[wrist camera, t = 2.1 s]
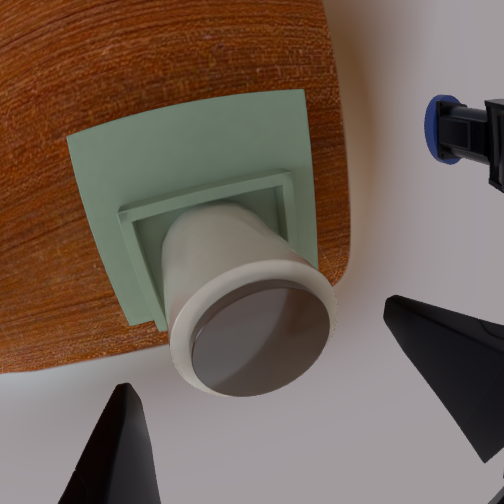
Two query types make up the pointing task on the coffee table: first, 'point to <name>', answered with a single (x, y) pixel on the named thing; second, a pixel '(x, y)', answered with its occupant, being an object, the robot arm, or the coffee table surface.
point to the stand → (192, 181)
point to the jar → (241, 302)
